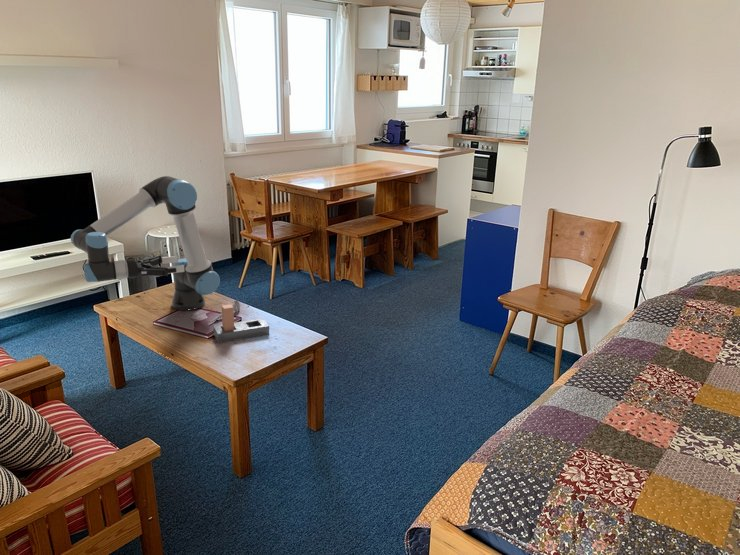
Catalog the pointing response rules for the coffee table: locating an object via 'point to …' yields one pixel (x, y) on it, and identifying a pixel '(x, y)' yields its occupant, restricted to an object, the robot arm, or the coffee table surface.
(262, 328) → the grey peg hole block
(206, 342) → the coffee table surface
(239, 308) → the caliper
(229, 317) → the peg
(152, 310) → the coffee table surface
